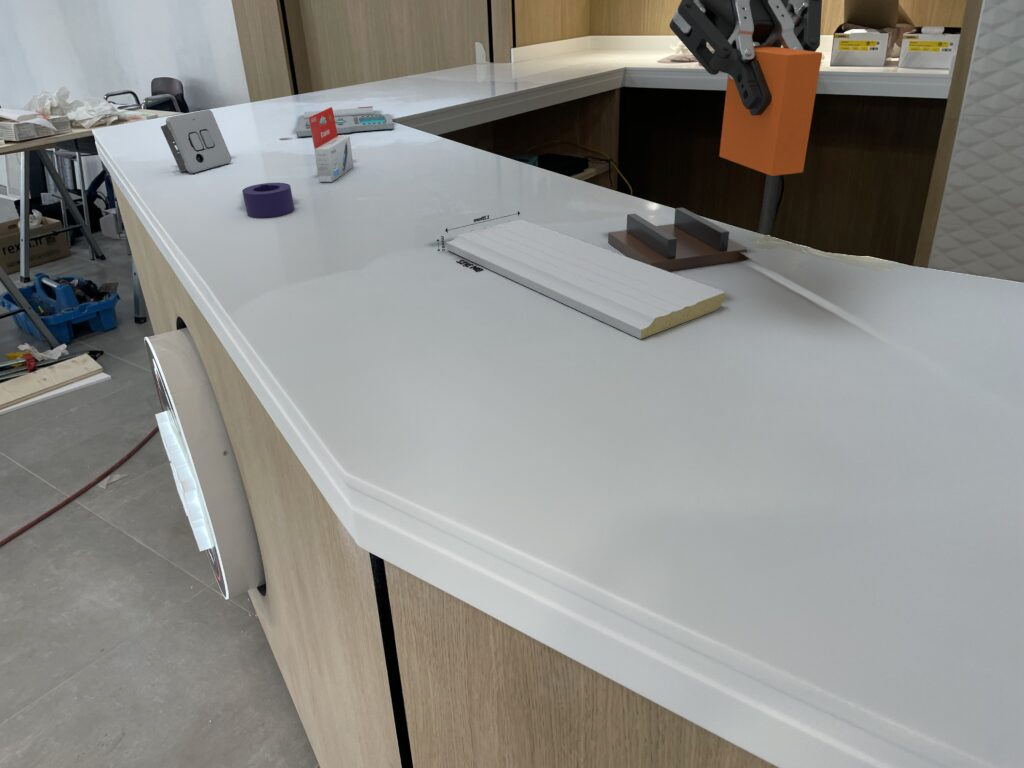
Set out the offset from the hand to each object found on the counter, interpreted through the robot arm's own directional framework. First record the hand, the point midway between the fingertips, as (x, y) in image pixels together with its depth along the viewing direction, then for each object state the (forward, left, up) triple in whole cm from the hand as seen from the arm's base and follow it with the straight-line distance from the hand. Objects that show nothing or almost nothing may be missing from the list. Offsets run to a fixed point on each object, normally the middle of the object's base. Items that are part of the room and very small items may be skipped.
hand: (782, 106), depth 59 cm
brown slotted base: (0, -16, -17) cm, 23 cm away
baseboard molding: (+14, -13, -17) cm, 26 cm away
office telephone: (+26, -119, -17) cm, 123 cm away
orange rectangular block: (0, -2, -5) cm, 5 cm away
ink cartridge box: (+32, -71, -17) cm, 80 cm away
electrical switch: (+54, -87, -17) cm, 104 cm away
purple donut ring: (+43, -55, -17) cm, 72 cm away
